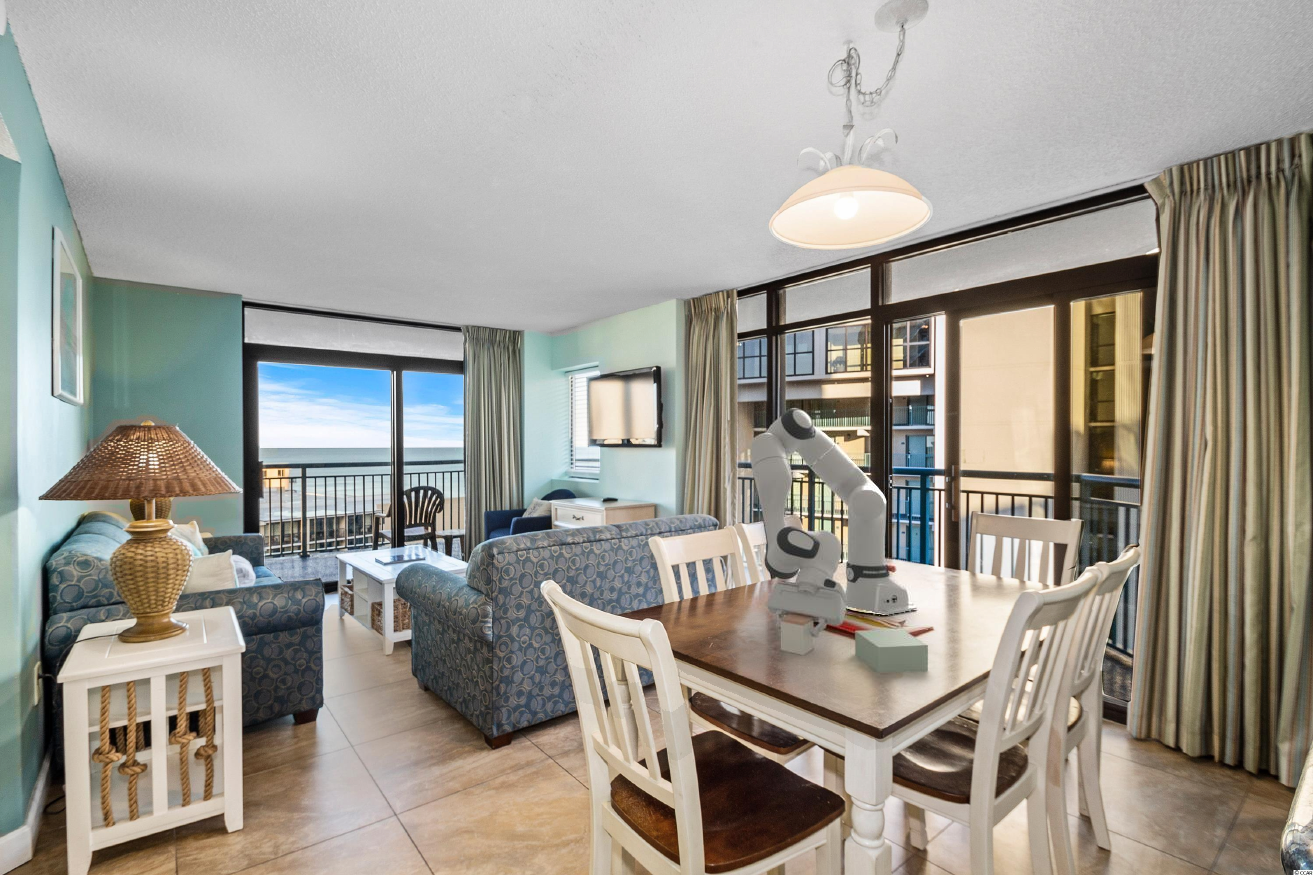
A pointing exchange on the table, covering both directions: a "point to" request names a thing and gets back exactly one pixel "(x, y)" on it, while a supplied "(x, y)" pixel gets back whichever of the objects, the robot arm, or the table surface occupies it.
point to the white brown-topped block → (796, 633)
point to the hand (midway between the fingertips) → (795, 632)
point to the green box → (891, 650)
